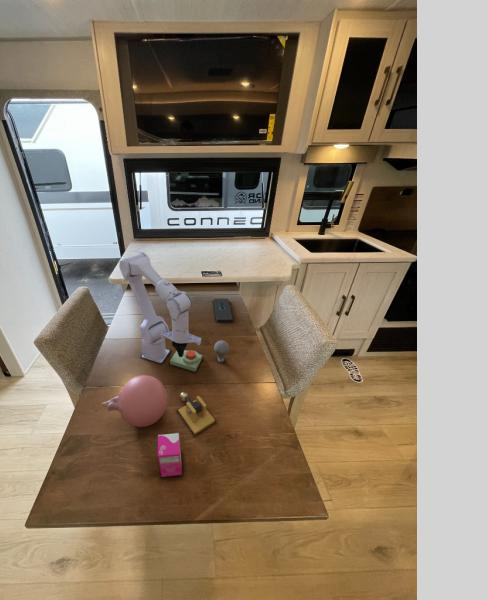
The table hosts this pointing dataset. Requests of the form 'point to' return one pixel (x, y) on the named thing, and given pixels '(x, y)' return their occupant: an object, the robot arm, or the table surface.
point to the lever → (191, 402)
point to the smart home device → (223, 310)
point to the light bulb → (221, 350)
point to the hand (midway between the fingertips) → (181, 355)
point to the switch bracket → (196, 416)
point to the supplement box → (169, 455)
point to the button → (190, 355)
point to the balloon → (140, 401)
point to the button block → (186, 361)
